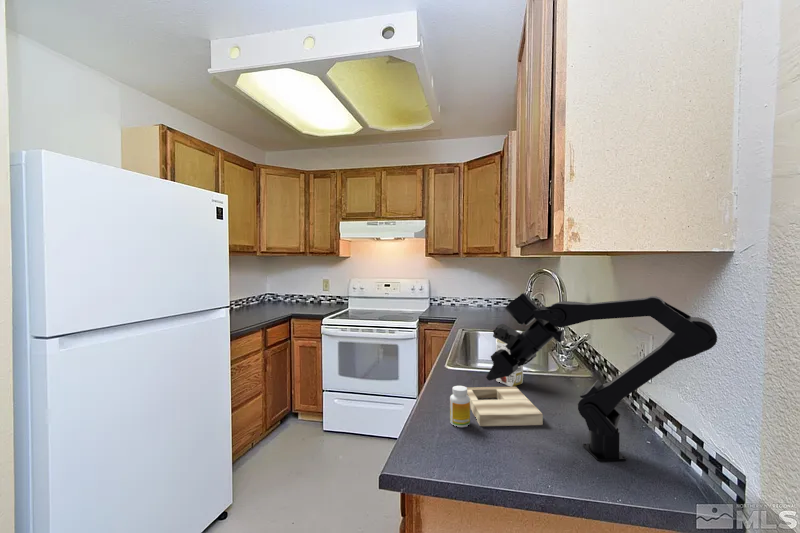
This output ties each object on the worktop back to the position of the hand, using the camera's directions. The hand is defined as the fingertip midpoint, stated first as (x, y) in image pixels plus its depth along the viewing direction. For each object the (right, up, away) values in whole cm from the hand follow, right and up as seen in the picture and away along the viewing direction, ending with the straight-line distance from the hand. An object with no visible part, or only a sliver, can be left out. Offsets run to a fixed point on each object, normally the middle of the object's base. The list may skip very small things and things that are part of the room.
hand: (494, 374), depth 96 cm
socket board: (+3, -13, +7) cm, 15 cm away
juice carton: (+13, -12, +29) cm, 35 cm away
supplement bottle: (-10, -13, -1) cm, 17 cm away
